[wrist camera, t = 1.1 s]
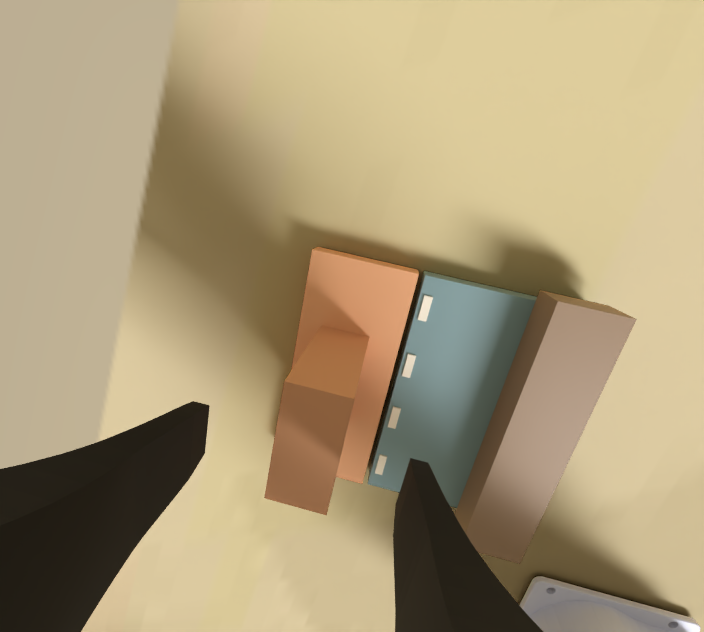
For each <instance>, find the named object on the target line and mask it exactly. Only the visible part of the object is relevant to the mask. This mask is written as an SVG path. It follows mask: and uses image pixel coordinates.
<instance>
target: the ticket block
mask: <svg viewBox="0 0 704 632" xmlns="http://www.w3.org/2000/svg"><path fill="white" fill-rule="evenodd" d="M635 321H636V319H635V318H633V317H631V316H629V315H627V314H624V313H622V312H620V311H618V310H616V309H614V308H612V307H610V306H607V305H603V304H599V303H594V302H590V301H585V300H581V299H577V298H572V297H568V296H564V295H559V294H555V293H551V292H546V291H542V290H540V291H539V294H538V296H537V297H536V296H531V295H527V294H523V293H518V292H514V291H510V290H505V289H501V288H497V287H492V286H488V285H484V284H479V283H475V282H471V281H466V280H462V279H458V278H453V277H449V276H445V275H440V274H436V273H432V272H427V271H424V272H423V276H422V279H421V283H420V287H419V290H418V294H417V298H416V301H415V305H414V309H413V312H412V316H411V320H410V323H409V327H408V331H407V334H406V338H405V342H404V345H403V349H402V353H401V356H400V360H399V364H398V367H397V371H396V374H395V378H394V382H393V385H392V389H391V393H390V396H389V400H388V404H387V407H386V411H385V415H384V418H383V422H382V426H381V429H380V433H379V437H378V440H377V444H376V448H375V451H374V455H373V459H372V462H371V466H370V470H369V478H368V484H370V485H373V486H377V487H381V488H384V489H388V490H392V491H396V492H399V493H400V489H401V486H402V483H403V480H404V477H405V473H406V470H407V467H408V464H409V461H410V458H413V459H416V460H420V461H424V462H428V463H429V465H430V467H431V469H432V471H433V473H434V475H435V477H436V480H437V482H438V484H439V486H440V488H441V490H442V492H443V494H444V496H445V498H446V500H447V502H448V503H449V505H450V506H451V507H455V508H457V509H456V512H455V516H456V518H457V520H458V522H459V523H460V525H461V527H462V528H463V530H464V532H465V533H466V535H467V537H468V538H469V540H470V541H471V543H472V544H473V546H474V548H475V549H476V550H477V552H479V553H483V554H486V555H490V556H494V557H497V558H501V559H504V560H508V561H512V562H515V563H519V564H520V562H521V560H522V558H523V556H524V554H525V552H526V550H527V548H528V546H529V544H530V541H531V539H532V537H533V535H534V533H535V531H536V529H537V527H538V525H539V523H540V521H541V518H542V516H543V514H544V512H545V510H546V508H547V506H548V504H549V502H550V500H551V497H552V495H553V493H554V491H555V489H556V487H557V485H558V483H559V481H560V479H561V477H562V474H563V472H564V470H565V468H566V466H567V464H568V462H569V460H570V458H571V456H572V453H573V451H574V449H575V447H576V445H577V443H578V441H579V439H580V437H581V435H582V433H583V430H584V428H585V426H586V424H587V422H588V420H589V418H590V416H591V414H592V412H593V409H594V407H595V405H596V403H597V401H598V399H599V397H600V395H601V393H602V391H603V389H604V386H605V384H606V382H607V380H608V378H609V376H610V374H611V372H612V370H613V368H614V365H615V363H616V361H617V359H618V357H619V355H620V353H621V351H622V349H623V347H624V345H625V342H626V340H627V338H628V336H629V334H630V332H631V330H632V328H633V326H634V324H635Z"/></svg>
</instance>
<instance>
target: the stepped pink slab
mask: <svg viewBox="0 0 704 632" xmlns="http://www.w3.org/2000/svg"><path fill="white" fill-rule="evenodd" d="M418 276H419V272H418V270H417V269H413V268H408V267H404V266H400V265H395V264H391V263H387V262H382V261H378V260H374V259H369V258H365V257H361V256H356V255H352V254H348V253H343V252H339V251H335V250H330V249H326V248H322V247H316V248H314V249H312V253H311V259H310V265H309V271H308V276H307V282H306V288H305V294H304V299H303V305H302V311H301V317H300V322H299V328H298V334H297V340H296V345H295V351H294V357H293V363H292V368H291V372H290V373H289V375H288V376H287V378H286V379H285V381H284V385H283V391H282V397H281V403H280V409H279V415H278V421H277V427H276V433H275V438H274V444H273V450H272V456H271V462H270V468H269V474H268V480H267V486H266V492H265V498H266V499H270V500H273V501H277V502H281V503H284V504H288V505H291V506H295V507H299V508H302V509H306V510H309V511H313V512H317V513H320V514H324V515H327V511H328V507H329V502H330V498H331V494H332V490H333V486H334V482H335V478H336V477H339V478H342V479H346V480H350V481H353V482H357V483H361V484H362V483H363V479H364V476H365V472H366V468H367V465H368V461H369V457H370V454H371V450H372V446H373V442H374V439H375V435H376V431H377V428H378V424H379V420H380V417H381V413H382V409H383V405H384V402H385V398H386V394H387V391H388V387H389V383H390V379H391V376H392V372H393V368H394V365H395V361H396V357H397V354H398V350H399V346H400V342H401V339H402V335H403V331H404V328H405V324H406V320H407V317H408V313H409V309H410V305H411V302H412V298H413V294H414V291H415V287H416V283H417V279H418Z"/></svg>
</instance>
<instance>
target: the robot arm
mask: <svg viewBox="0 0 704 632" xmlns="http://www.w3.org/2000/svg"><path fill="white" fill-rule="evenodd" d="M208 415H209V405H205V404H202V403H198V402H194V401H193V402H190V403H188V404H185V405H183V406H181V407H179V408H176V409H174V410H172V411H170V412H168V413H166V414H164V415H161V416H159V417H157V418H155V419H153V420H150V421H148V422H146V423H144V424H142V425H139V426H137V427H135V428H132V429H130V430H127V431H125V432H122V433H120V434H117V435H115V436H113V437H110V438H108V439H105V440H102V441H100V442H97V443H94V444H91V445H88V446H85V447H83V448H79V449H76V450H73V451H70V452H67V453H63V454H60V455H56V456H52V457H49V458H45V459H41V460H37V461H34V462H30V463H26V464H22V465H17V466H13V467H8V468H4V469H0V632H81V631H82V629H83V627H84V626H85V624H86V622H87V621H88V619H89V617H90V616H91V614H92V613H93V611H94V609H95V608H96V606H97V605H98V603H99V602H100V600H101V598H102V597H103V595H104V594H105V592H106V591H107V589H108V587H109V586H110V584H111V583H112V581H113V580H114V578H115V577H116V575H117V574H118V572H119V571H120V569H121V568H122V566H123V565H124V563H125V562H126V560H127V559H128V557H129V556H130V554H131V553H132V551H133V550H134V548H135V547H136V546H137V544H138V543H139V542H140V540H141V539H142V537H143V536H144V535H145V534H146V532H147V531H148V530H149V529H150V527H151V526H152V525H153V524H154V522H155V521H156V520H157V519H158V517H159V516H160V515H161V514H162V512H163V511H164V510H165V509H166V507H167V506H168V505H169V504H170V502H171V501H172V500H173V499H174V497H175V496H176V495H177V494H178V492H179V491H180V490H181V489H182V487H183V486H184V485H185V483H186V482H187V481H188V479H189V478H190V476H191V475H192V473H193V472H194V470H195V469H196V467H197V465H198V464H199V462H200V460H201V459H202V457H203V455H204V453H205V445H206V435H207V425H208ZM393 544H394V577H395V607H396V618H395V632H699V631H700V626H699V625H698V623H697V622H696V621H695V620H694V619H693V618H691V617H687V616H684V615H680V614H677V613H673V612H669V611H666V610H662V609H658V608H655V607H651V606H648V605H644V604H640V603H637V602H633V601H630V600H626V599H622V598H619V597H615V596H612V595H608V594H604V593H601V592H597V591H594V590H590V589H586V588H583V587H579V586H575V585H572V584H568V583H565V582H561V581H557V580H554V579H550V578H547V577H543V576H537V577H535V578H533V580H532V581H531V583H530V585H529V587H528V589H527V591H526V593H525V595H524V597H523V599H522V601H521V603H520V605H519V604H518V603H517V602H516V601H515V600H514V599H513V597H512V596H511V595H510V594H509V593H508V591H507V590H506V589H505V588H504V586H503V585H502V584H501V583H500V582H499V580H498V579H497V578H496V576H495V575H494V574H493V573H492V571H491V570H490V569H489V567H488V566H487V564H486V563H485V562H484V560H483V559H482V557H481V556H480V555H479V553H478V552H477V550H476V549H475V548H474V546H473V544H472V543H471V541H470V540H469V538H468V537H467V535H466V533H465V532H464V530H463V528H462V527H461V525H460V523H459V522H458V520H457V518H456V516H455V514H454V513H453V511H452V509H451V507H450V505H449V503H448V502H447V500H446V498H445V496H444V494H443V492H442V490H441V488H440V486H439V484H438V482H437V480H436V477H435V475H434V473H433V471H432V469H431V467H430V465H429V463H428V462H424V461H420V460H416V459H413V458H410V461H409V464H408V467H407V470H406V473H405V477H404V480H403V483H402V486H401V489H400V493H399V496H398V499H397V502H396V508H395V519H394V533H393Z"/></svg>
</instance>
